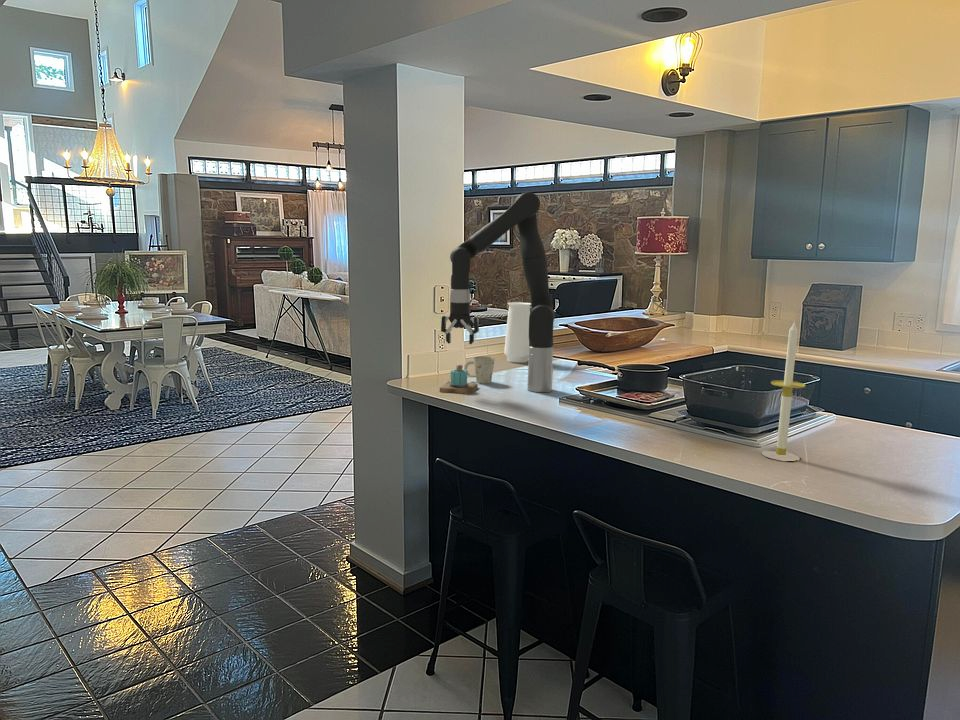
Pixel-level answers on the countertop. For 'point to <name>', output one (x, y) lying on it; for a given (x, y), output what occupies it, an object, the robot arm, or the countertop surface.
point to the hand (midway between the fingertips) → (459, 343)
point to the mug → (482, 369)
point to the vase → (517, 332)
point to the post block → (459, 388)
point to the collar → (458, 377)
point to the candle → (787, 391)
